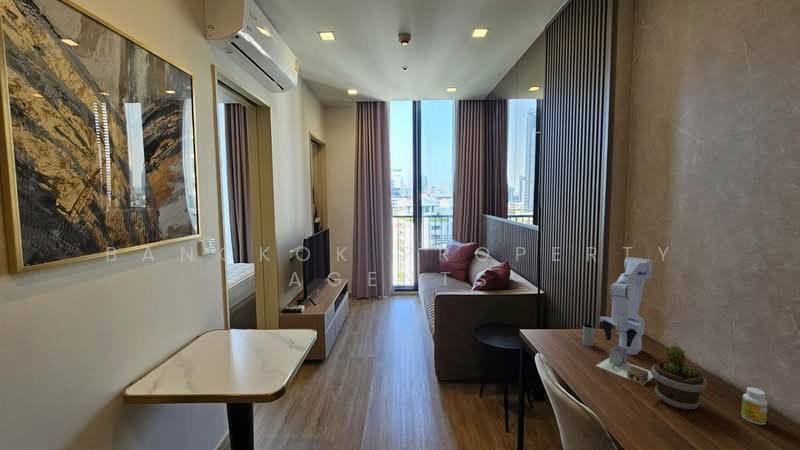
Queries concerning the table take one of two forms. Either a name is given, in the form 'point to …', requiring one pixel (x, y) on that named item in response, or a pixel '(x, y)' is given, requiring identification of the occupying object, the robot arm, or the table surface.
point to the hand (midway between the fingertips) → (618, 342)
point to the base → (622, 369)
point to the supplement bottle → (754, 406)
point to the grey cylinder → (588, 335)
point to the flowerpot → (678, 381)
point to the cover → (638, 374)
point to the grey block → (618, 355)
